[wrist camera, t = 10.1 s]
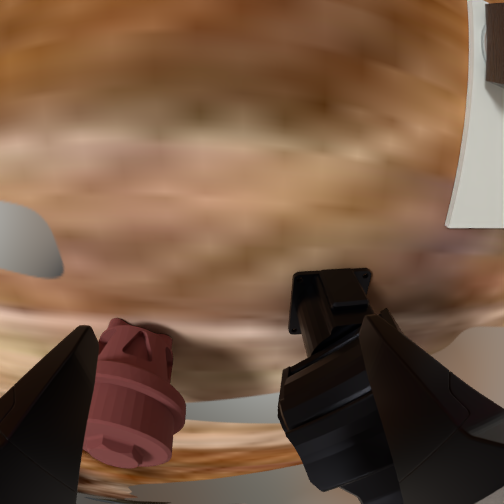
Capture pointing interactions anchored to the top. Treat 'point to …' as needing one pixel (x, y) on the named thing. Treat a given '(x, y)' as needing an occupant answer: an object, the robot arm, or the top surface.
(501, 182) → the mat
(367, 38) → the top surface
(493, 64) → the square frame
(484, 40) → the silver domed knob
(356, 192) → the top surface
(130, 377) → the mechanical component
